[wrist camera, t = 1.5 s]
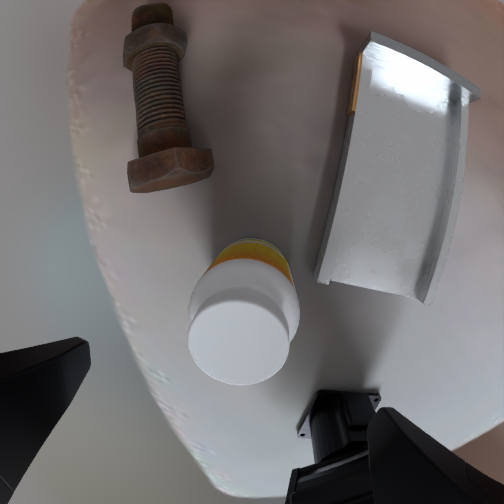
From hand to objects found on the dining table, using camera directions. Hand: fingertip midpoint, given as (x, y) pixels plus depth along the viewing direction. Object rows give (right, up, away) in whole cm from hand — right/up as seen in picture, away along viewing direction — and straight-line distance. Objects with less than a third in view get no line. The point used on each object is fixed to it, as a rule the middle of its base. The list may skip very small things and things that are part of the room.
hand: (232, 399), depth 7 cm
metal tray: (+11, +9, +11) cm, 18 cm away
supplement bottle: (0, +2, +13) cm, 13 cm away
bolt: (-6, +16, +11) cm, 20 cm away
